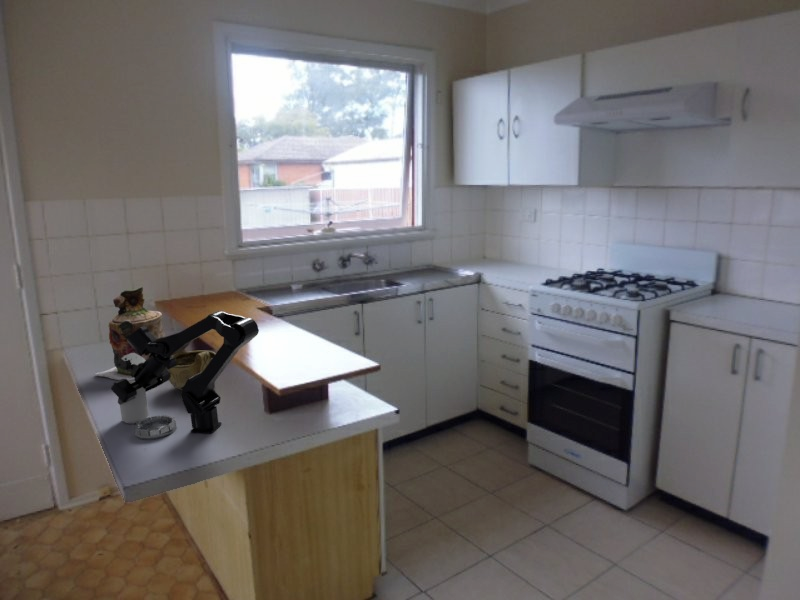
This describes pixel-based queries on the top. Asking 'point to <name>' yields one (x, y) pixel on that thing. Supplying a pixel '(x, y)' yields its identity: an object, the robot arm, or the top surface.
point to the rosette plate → (155, 427)
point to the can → (135, 407)
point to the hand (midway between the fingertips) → (129, 398)
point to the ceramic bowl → (188, 366)
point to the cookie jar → (130, 328)
